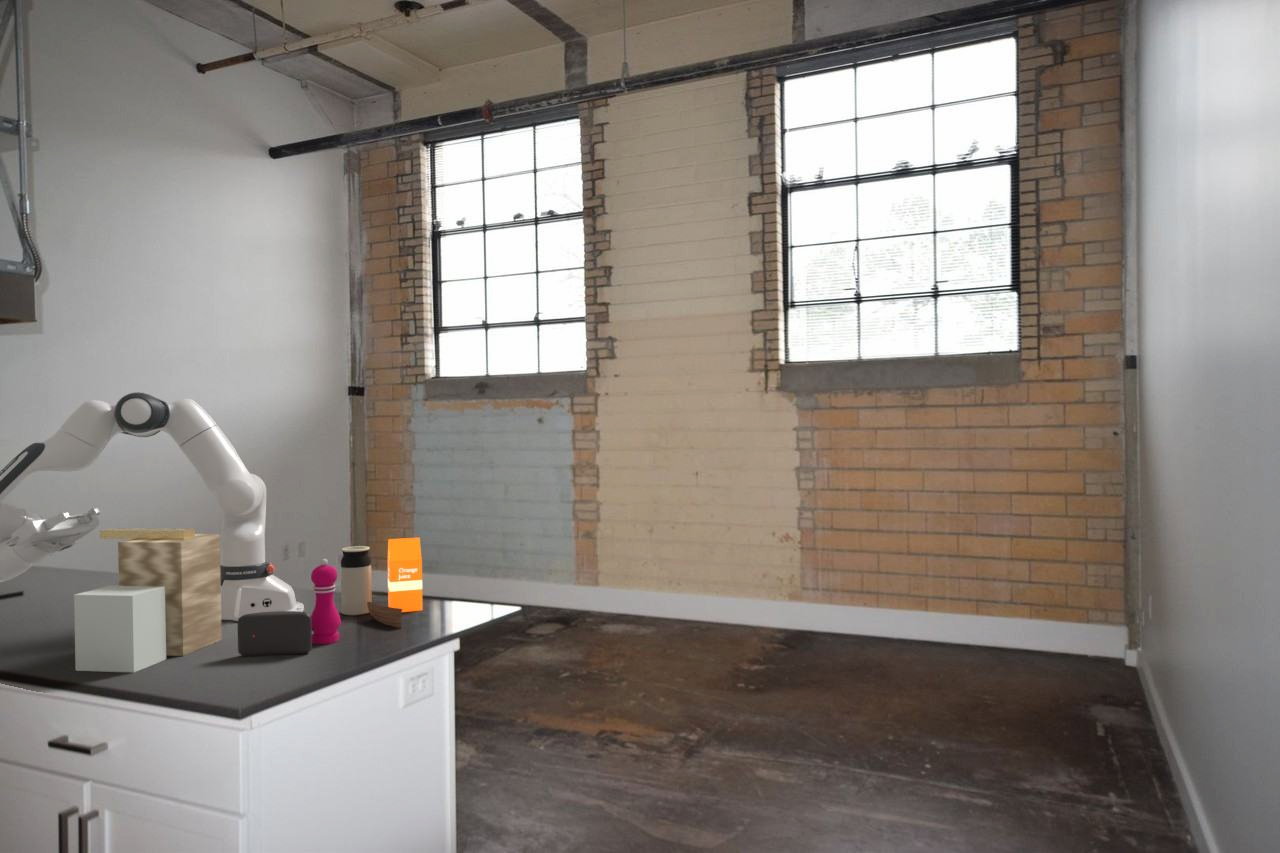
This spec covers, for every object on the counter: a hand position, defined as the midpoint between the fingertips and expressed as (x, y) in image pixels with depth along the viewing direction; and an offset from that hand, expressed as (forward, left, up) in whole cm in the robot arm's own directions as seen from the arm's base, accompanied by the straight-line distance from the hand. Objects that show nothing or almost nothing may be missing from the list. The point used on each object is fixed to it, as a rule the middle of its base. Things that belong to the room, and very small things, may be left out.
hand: (82, 512), depth 206 cm
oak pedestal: (-20, +12, -32) cm, 40 cm away
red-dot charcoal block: (-43, +30, -32) cm, 61 cm away
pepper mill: (-54, +22, -32) cm, 67 cm away
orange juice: (-76, -6, -32) cm, 83 cm away
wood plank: (-69, +9, -32) cm, 77 cm away
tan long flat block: (-15, +9, -6) cm, 18 cm away
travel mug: (-63, -7, -32) cm, 71 cm away
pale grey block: (-12, +24, -32) cm, 42 cm away
